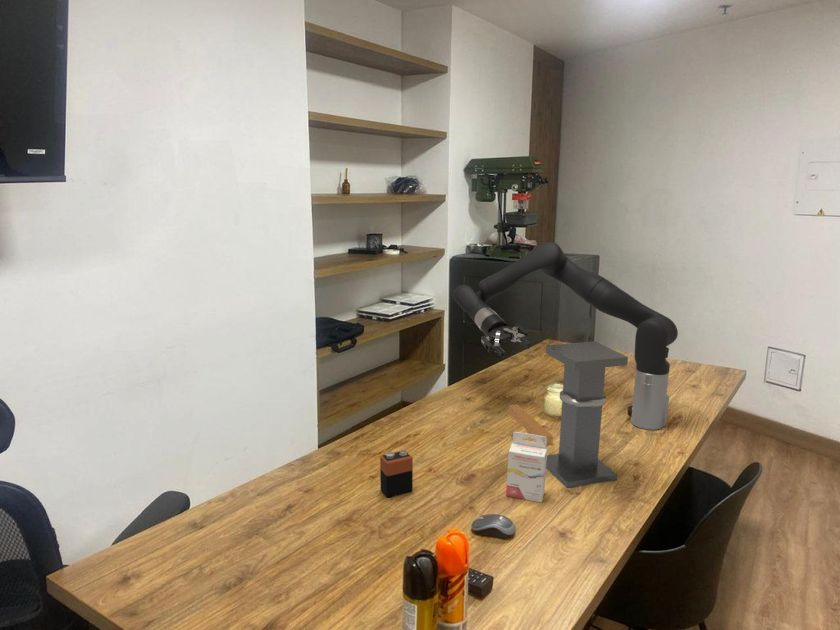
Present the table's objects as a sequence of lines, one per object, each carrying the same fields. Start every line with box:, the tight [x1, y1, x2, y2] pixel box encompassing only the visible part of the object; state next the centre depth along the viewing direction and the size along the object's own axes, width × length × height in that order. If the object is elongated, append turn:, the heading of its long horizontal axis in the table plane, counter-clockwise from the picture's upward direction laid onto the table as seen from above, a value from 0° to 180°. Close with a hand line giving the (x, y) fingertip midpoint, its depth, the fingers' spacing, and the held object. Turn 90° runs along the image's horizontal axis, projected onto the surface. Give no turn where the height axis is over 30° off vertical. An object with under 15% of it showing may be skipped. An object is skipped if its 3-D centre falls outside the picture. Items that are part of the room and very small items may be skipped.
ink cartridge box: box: [505, 431, 548, 503], centre depth 137 cm, size 9×5×15 cm, turn 71°
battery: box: [379, 449, 414, 498], centre depth 139 cm, size 4×7×10 cm, turn 117°
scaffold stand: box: [545, 341, 629, 489], centre depth 147 cm, size 14×14×32 cm
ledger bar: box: [507, 404, 554, 446], centre depth 176 cm, size 3×24×3 cm, turn 15°
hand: (517, 351), depth 179 cm, fingers open, 8 cm apart
